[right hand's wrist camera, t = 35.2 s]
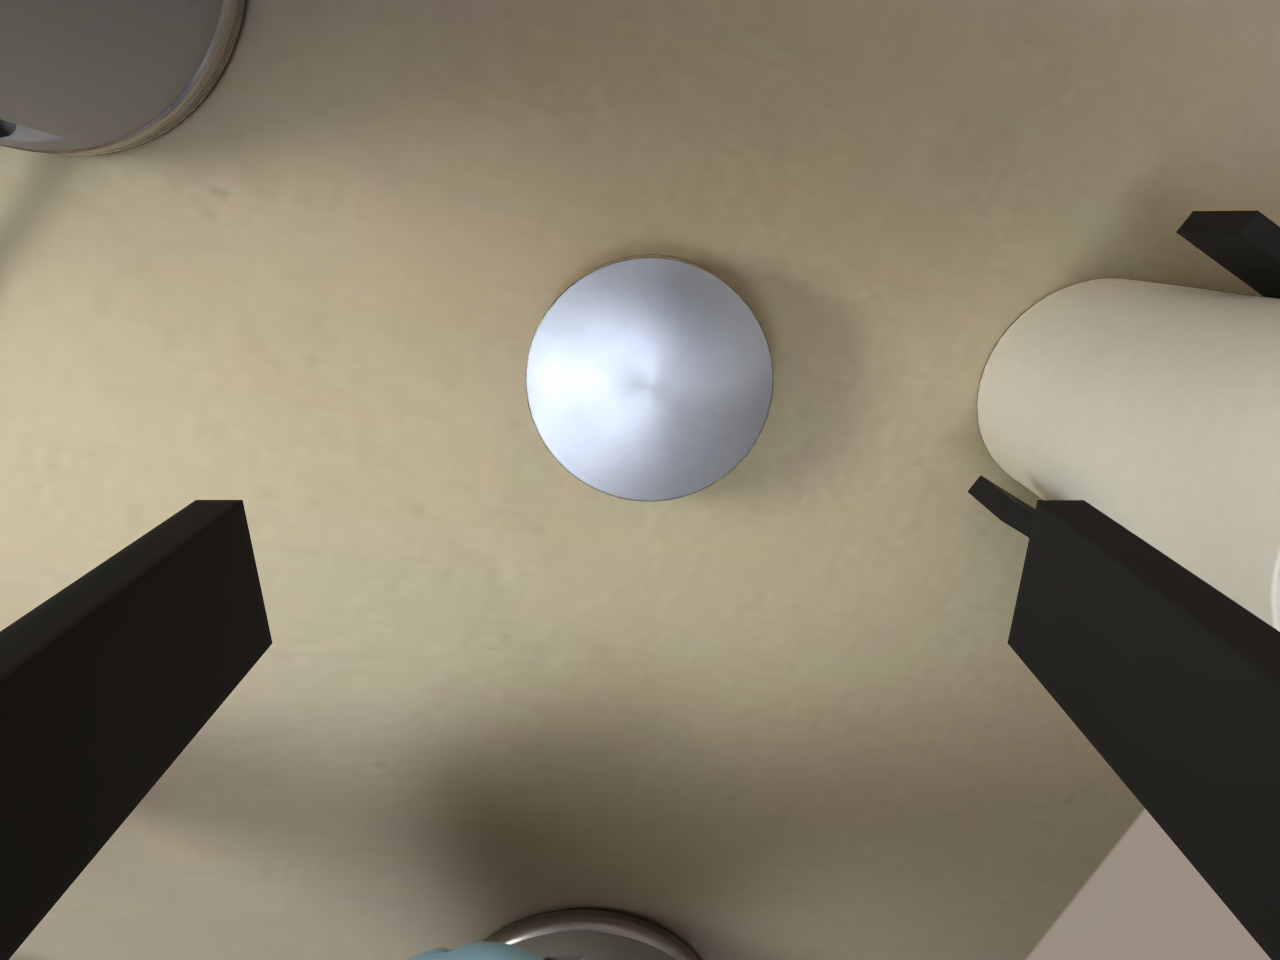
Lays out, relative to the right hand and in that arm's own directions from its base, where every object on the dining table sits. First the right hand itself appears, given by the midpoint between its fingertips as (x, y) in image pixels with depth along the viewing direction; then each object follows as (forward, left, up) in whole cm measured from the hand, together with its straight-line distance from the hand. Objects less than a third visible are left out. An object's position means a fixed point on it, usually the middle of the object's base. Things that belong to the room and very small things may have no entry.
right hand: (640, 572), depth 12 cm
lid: (0, -1, -18) cm, 18 cm away
